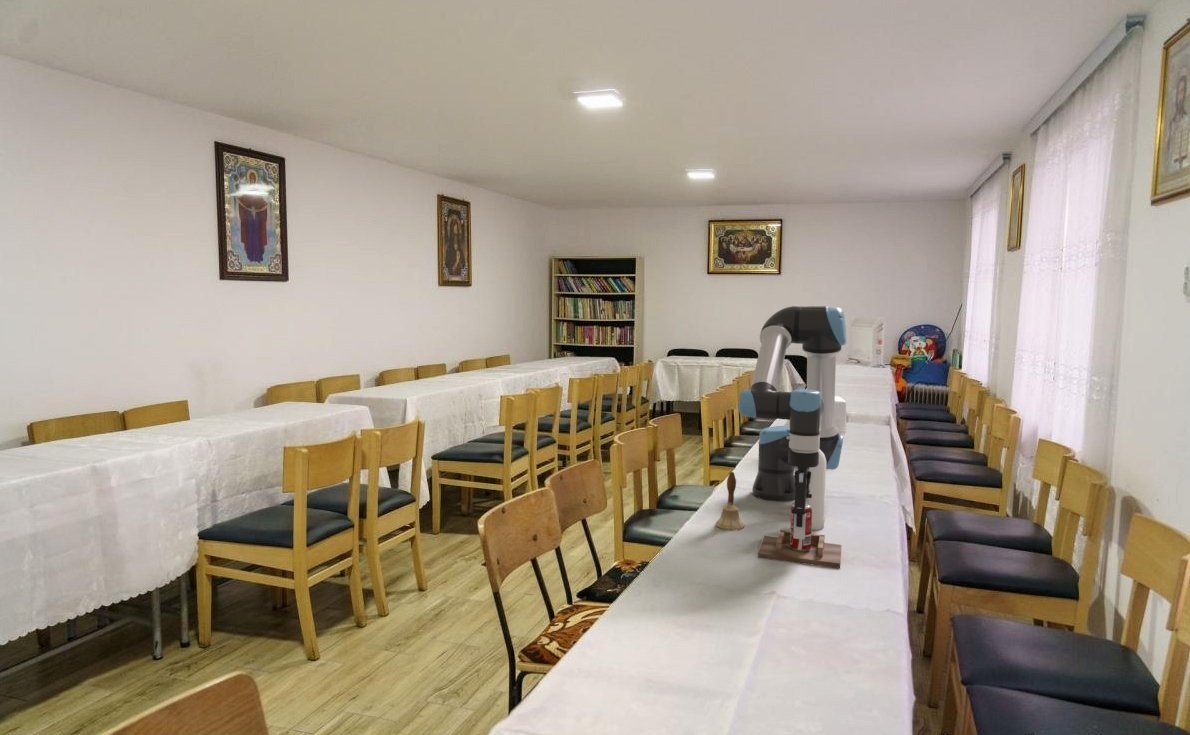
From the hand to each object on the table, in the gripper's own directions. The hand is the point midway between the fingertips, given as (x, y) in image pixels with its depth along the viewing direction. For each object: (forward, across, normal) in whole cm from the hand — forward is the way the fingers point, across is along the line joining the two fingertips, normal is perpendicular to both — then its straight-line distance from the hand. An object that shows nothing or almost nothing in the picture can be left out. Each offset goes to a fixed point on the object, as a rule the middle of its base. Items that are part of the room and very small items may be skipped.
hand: (801, 530), depth 182 cm
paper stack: (+6, -114, -4) cm, 114 cm away
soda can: (+5, 0, 0) cm, 5 cm away
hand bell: (+7, -16, -21) cm, 27 cm away
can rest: (+6, 0, 0) cm, 6 cm away
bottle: (+6, -24, +1) cm, 25 cm away
